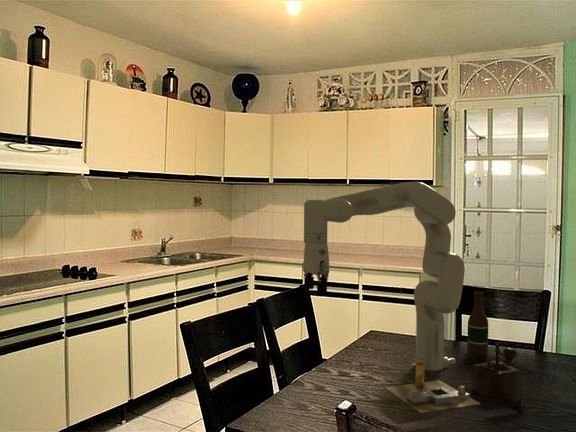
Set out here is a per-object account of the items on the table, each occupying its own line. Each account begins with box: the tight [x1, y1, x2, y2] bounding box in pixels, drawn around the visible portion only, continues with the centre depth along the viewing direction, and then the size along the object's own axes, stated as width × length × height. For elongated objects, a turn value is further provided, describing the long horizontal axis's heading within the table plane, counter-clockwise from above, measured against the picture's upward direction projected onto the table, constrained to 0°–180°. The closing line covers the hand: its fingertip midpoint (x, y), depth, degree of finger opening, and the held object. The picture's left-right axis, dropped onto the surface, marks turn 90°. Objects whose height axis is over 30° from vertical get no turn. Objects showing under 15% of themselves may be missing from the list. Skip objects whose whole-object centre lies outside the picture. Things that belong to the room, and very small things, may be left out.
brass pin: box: [414, 357, 426, 390], centre depth 161 cm, size 3×3×9 cm
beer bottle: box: [466, 291, 489, 357], centre depth 203 cm, size 8×8×24 cm
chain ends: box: [407, 385, 471, 407], centre depth 152 cm, size 19×8×3 cm, turn 109°
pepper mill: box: [471, 343, 523, 404], centre depth 155 cm, size 16×11×18 cm
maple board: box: [385, 379, 482, 414], centre depth 156 cm, size 20×20×2 cm
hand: (315, 291), depth 166 cm, fingers open, 9 cm apart
